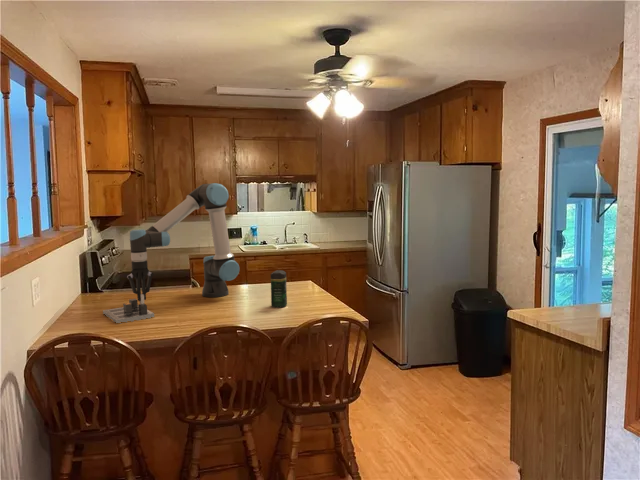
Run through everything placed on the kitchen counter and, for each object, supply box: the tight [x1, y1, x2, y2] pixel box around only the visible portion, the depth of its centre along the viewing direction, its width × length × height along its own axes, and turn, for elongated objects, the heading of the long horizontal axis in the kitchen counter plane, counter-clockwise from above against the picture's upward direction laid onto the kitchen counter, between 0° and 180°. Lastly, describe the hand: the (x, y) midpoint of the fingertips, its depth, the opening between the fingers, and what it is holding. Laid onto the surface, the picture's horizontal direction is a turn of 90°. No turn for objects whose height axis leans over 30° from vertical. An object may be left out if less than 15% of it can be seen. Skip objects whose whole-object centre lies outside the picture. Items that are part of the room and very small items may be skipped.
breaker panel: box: [102, 298, 155, 324], centre depth 254 cm, size 24×18×6 cm
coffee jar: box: [270, 269, 288, 309], centre depth 266 cm, size 10×8×19 cm
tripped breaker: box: [122, 302, 132, 313], centre depth 254 cm, size 4×3×4 cm
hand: (142, 306), depth 258 cm, fingers closed
